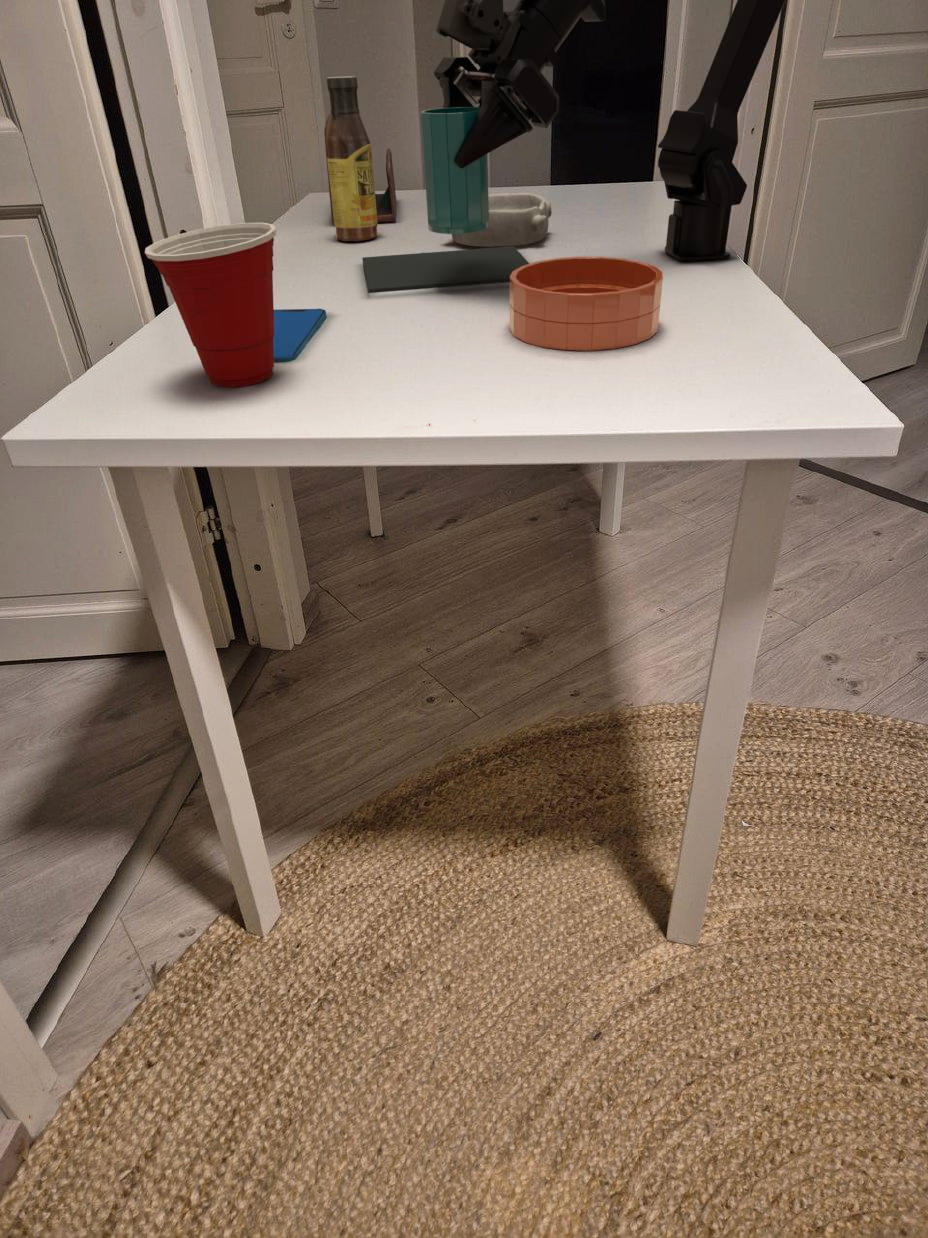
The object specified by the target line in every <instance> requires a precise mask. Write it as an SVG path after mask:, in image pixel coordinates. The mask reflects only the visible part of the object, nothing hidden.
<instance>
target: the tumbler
mask: <svg viewBox="0 0 928 1238" xmlns="http://www.w3.org/2000/svg"><path fill="white" fill-rule="evenodd" d="M480 109H481V107H449V108H443V107H439V108H438V107H437V108H430V109H425V110H421V111H420V116H421V117H420V119H421V135H422V152H423V166H424V167H423V168H424V181H425V182H424V183H425V198H426V211H427V224H428V226H427V227H428V230H429V232H431V233H435V234H442V235H443V234H444V235H452V234H463V233H472V232H477V231H481V230H484V229H486V228H488V226H489V199H488V195H489V171H488V170H489V165H488V154H486V155H484V156H483V157H481V158H479V159H478V160H476V161H474V162H472V163H471V164H469V165H467V166H466V167H464V168H459V167H458V166H457V165H456V164H455V163H454V159H455V157H456V154H457V152H458V150H459V148H460V146H461V144H462V142H463V141H464V139H465V137H466V135H467V133H468V131H469V130H470V128H471V126H472V124H473V122H474V120H475V118H476V117H477V115H478V113H479V111H480Z"/></svg>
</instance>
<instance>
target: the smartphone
mask: <svg viewBox="0 0 928 1238" xmlns="http://www.w3.org/2000/svg"><path fill="white" fill-rule="evenodd" d="M327 318H328V316H327V311H326V310H325V309H323V308H294V309H293V308H292V309H291V308H290V309H283V308H282V309H274V337H273V350H274V363H288V362H289V363H290V362H292V361H295V360H296V359H298V357H299V355H300V354H301V353H302V352H303V350H304V349H305V348H306V346H307V345H308V344H309V342H310V341H311V340H312V339H313V337H314V335H315V334H316V333H317V332H318V331H319V329H320V328H321V326H322V325H323V323H324V322H325V321H326V319H327Z"/></svg>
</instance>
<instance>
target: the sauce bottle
mask: <svg viewBox="0 0 928 1238" xmlns="http://www.w3.org/2000/svg"><path fill="white" fill-rule="evenodd" d="M326 85H327V87H326V88H327V91H328V93H329V102H330V114H331V115H332V119H331V122H330V125H329V127H328V129H327V133H326V146H327V154H328V157H327V160H326V163H327V162H328V171H329V180H330V190H331V199H332V208H333V217H334V225H335V226H334V225H333V226H334V227H335V234H336V238H337V240H339V241H342V242H361V241H368V240H372V239H375V238H376V237H377V236H378V228H377V227H378V223H377V212H376V200H375V194H376V189H375V176H374V165H373V154H372V143H371V140H370V137H369V136H368V133H367V130H366V127H365V125H364V122H363V120H362V117H361V115H360V109H359V100H358V99H359V98H358V90H359V89H358V88H359V84H358V78H357V76H356V75H348V76H347V75H346V76H329V77H326Z"/></svg>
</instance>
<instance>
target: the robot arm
mask: <svg viewBox="0 0 928 1238" xmlns="http://www.w3.org/2000/svg"><path fill="white" fill-rule="evenodd" d="M785 3H786V0H736V3H735V5H734V8H733V11H732V12H731V14H730V17H729V20H728V23H727V25H726V27H725V30H724V33H723V35H722V38H721V40H720V43H719V45H718V47H717V50H716V53H715V55H714V58H713V60H712V62H711V65H710V67H709V70H708V72H707V75H706V77H705V80H704V82H703V84H702V87H701V90H700V92H699V95H698V97H697V99H695V102H694V103H693V104H691V105H690V107H689V108H688V109H687V110H678V109H675V110H673V112H672V113H671V116H670V118H669V121H668V124H667V129H666V131H665V134H664V135H663V137H662V140H661V141H660V142H658V145H657V148H658V149H661V150H660V153H659V155H658V160H657V168H659V172H660V177H661V179H662V180H663V183H664V188H665V192H666V193H665V194H666V197H667V199H669V200H674V201H673V210H672V213H670V214H669V216H668V222H667V230H666V231H667V232H666V242H665V246H664V252H666V253H667V254H669V255H670V256H671V257H673V258H675V259H676V260H677V261H679V262H692V261H693V262H695V261H707V260H708V261H709V260H719V259H730V258H731V255H732V254H731V253H730V252H729V251H728V250H726V249H727V242H728V235H729V230H730V229H729V228H730V220H731V213H732V206H737V205H741V203H742V200H743V198H744V196H745V193H746V191H747V189H748V185H747V183H746V181H745V180H744V178H743V176H742V175H741V173H740V171H738V168H737V167H736V166H735V164H734V163H733V161H734V158H735V154H736V152H737V149H738V144H739V122H738V120H739V119H738V116H739V111H740V108H741V106H742V104H743V102H744V99H745V98H746V95H747V92H748V90H749V87H750V85H751V83H752V80H753V78H754V76H755V73H756V71H757V68H758V66H759V64H760V62H761V59H762V57H763V55H764V52H765V50H766V47H767V45H768V43H769V41H770V38H771V36H772V33H773V30H774V28H775V26H776V24H777V22H778V19H779V17H780V14H781V11H782V9H783V8H784V4H785ZM580 18H581V19H582V20H583V21H584V23H585V22H587V23H588V22H604V21H605V20H606V18H607V11H606V3H605V0H518V1H517V2H516V4H515V5H514V6H513V8H512V10H510V11H508V10H507V11H504V0H444V2H443V5H442V9H441V12H440V15H439V18H438V23H437V26H436V29H435V32H436V33H438V34H439V35H440V36H442V37H444V38H447V37H449V38H451V39H453V40H454V41H456V42H458V43H459V44H462V45H463V46H465V47H466V48H469V49H470V51H469V52H468V54H467V55H468V56H445V57H443V58H442V59H441V61H440V62H439V64H438V65H437V67H436V68H435V70H434V71H433V75H434V77H435V79H437V81H439V86H440V88H441V91H442V97H443V104H442V108H449V107H481V109H480V111H479V113H478V115H477V117H476V118H475V120H474V122H473V124H472V126H471V128H470V130H469V131H468V133H467V135H466V137H465V139H464V141H463V142H462V144H461V146H460V148H459V150H458V152H457V154H456V157H455V159H454V163H455V164H456V165H457V166H458V167H459V168H464V167H466V166H467V165H469V164H471V163H472V162H474V161H476V160H478V159H479V158H481V157H483V156H484V155H486V154H487V155H488V154H489V153H491V152H493V151H495V150H497V149H498V148H500V147H502V146H503V145H505V144H508V143H509V142H510V141H513V140H515V139H516V138H519V137H520V136H523V135H524V134H526V133H528V134H529V133H530V132H532V131H533V129H534V128H533V126H534V127H537V128H544V129H548V127H549V126H550V125H551V123H552V122H553V120H554V119H555V118H556V117H557V115H558V114H559V112H560V95H559V94H558V92H557V91H556V90H555V88H554V87H553V85H551V83H550V81H548V79H547V78H546V77H545V76H544V74H543V71H544V69H545V68H555V66H556V65H557V64H558V62H559V61H560V59H561V57H560V55H559V54H558V53H557V51H558V50H559V48H560V47H561V45H562V44H563V42H564V41H565V40H566V39H567V38H568V36H569V34H570V33H571V31H572V30H573V28H574V27H575V26H576V24H577V23H578V22H579V20H580ZM476 65H478V67H479V69H478V68H477V66H476ZM532 125H533V126H532Z"/></svg>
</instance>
